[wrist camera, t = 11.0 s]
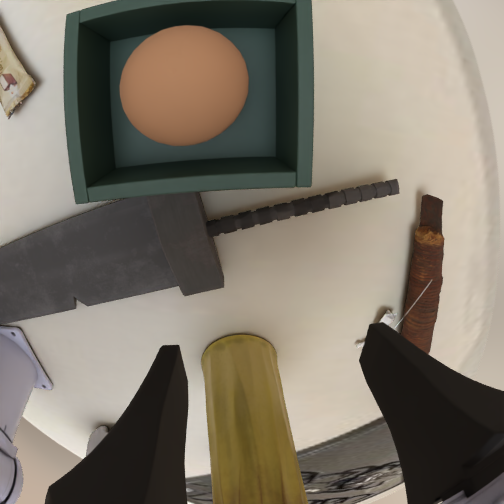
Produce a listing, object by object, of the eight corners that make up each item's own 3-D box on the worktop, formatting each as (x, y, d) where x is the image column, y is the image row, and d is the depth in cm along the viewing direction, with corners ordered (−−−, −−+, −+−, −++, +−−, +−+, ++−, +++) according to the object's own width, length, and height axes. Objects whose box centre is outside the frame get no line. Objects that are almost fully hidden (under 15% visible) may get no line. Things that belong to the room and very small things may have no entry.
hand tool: (400, 396, 31) (416, 415, 28) (380, 408, 30) (395, 428, 27) (430, 185, 19) (466, 198, 16) (401, 194, 18) (439, 209, 15)
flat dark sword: (-42, 259, 16) (-54, 270, 15) (383, 126, 16) (400, 129, 14) (-6, 325, 20) (-16, 338, 18) (392, 233, 19) (406, 245, 17)
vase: (197, 380, 24) (203, 539, 11) (205, 328, 22) (214, 524, 9) (266, 384, 25) (298, 532, 13) (285, 335, 23) (339, 510, 10)
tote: (109, 179, 16) (75, 204, 11) (102, 35, 12) (66, 14, 8) (285, 166, 17) (312, 187, 13) (284, 21, 13) (311, -8, 9)
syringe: (347, 347, 25) (364, 345, 26) (357, 365, 24) (374, 361, 24) (412, 261, 20) (427, 263, 20) (427, 279, 18) (442, 279, 19)
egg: (124, 115, 14) (68, 121, 8) (172, 30, 12) (146, -19, 6) (210, 156, 16) (208, 185, 10) (260, 72, 14) (293, 45, 8)
